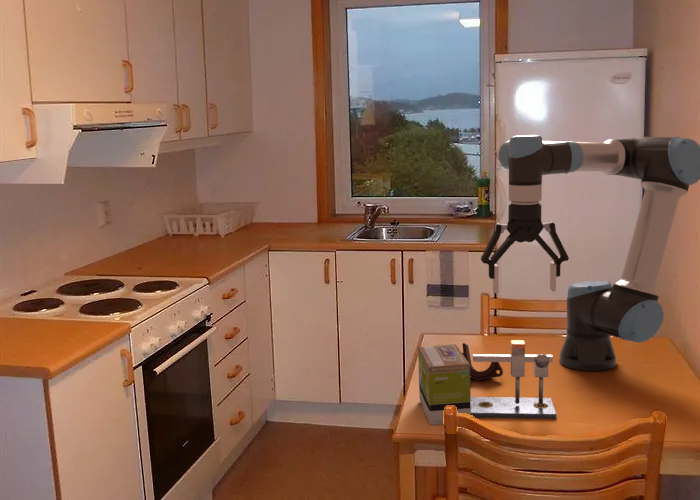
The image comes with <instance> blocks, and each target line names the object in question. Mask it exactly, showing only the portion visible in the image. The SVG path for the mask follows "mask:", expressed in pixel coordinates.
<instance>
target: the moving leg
mask: <svg viewBox="0 0 700 500" xmlns="http://www.w3.org/2000/svg"><path fill="white" fill-rule="evenodd" d="M510 355H512V362H510V376H511V378H514V379H515V384H514V385H515V387H514V388H515V391H514V392H515V403H516V404H519V399H520V398H521V396H520V389H521V383H520V382H521V381H520V379H521V378H525V376H526V375H525V372H526V371H525V370H526V362H525V355H526V343H525V340H520V339H519V340H516V339H515V340H513V339H512V340H510Z"/></svg>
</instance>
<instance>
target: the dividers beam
mask: <svg viewBox="0 0 700 500" xmlns="http://www.w3.org/2000/svg"><path fill="white" fill-rule="evenodd" d="M553 359H554V358H553V354H544V353H539V354H525V363H533V367H534V368H533V369H534V370H533V372H534V373H533V375H534V377H535V378H538V398H539V404H543V398H544V378H549V364H550V363H553V362H554V361H553ZM472 361H473V363H491V362H499V363H511V362H512V355H511V354H507V353H506V354H504V353H503V354H499V353H497V354H496V353H495V354H491V353H487V354H486V353H483V354H481V353H479V354H477V353H473V354H472Z"/></svg>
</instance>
